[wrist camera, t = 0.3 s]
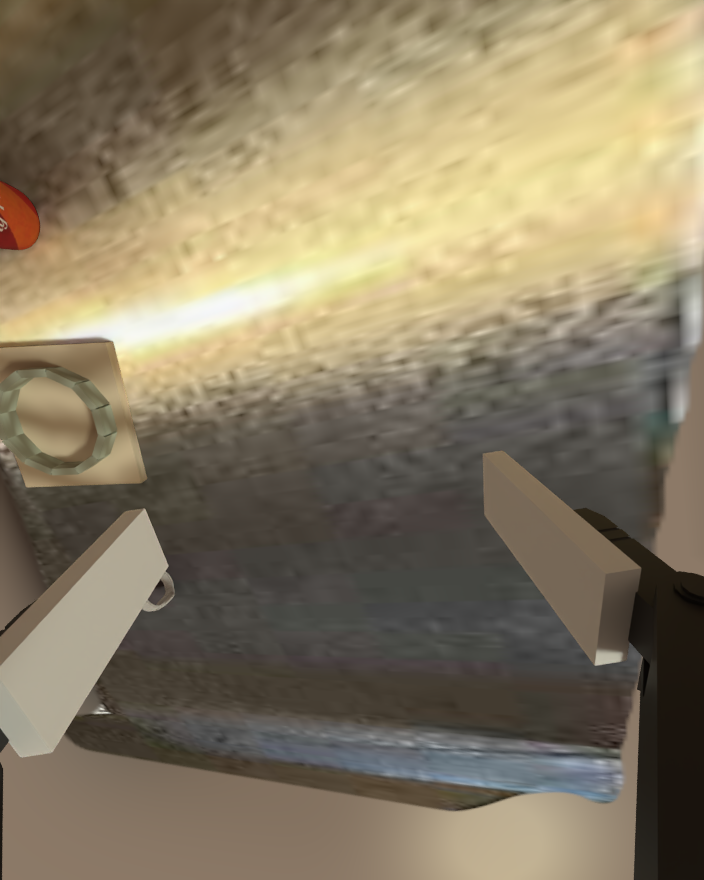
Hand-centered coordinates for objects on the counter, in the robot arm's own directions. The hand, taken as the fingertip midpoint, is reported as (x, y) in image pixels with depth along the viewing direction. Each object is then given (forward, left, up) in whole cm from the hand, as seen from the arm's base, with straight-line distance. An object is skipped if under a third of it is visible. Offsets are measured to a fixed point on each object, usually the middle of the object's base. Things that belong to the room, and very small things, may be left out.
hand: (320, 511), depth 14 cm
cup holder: (+2, -32, -27) cm, 42 cm away
